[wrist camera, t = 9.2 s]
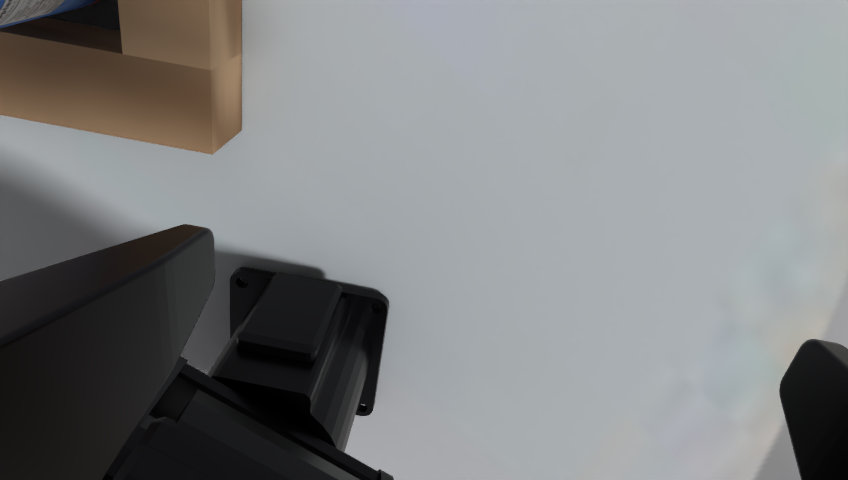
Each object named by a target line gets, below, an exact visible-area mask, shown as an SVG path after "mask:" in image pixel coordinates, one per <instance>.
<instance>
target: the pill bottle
mask: <svg viewBox="0 0 848 480" xmlns="http://www.w3.org/2000/svg"><path fill="white" fill-rule="evenodd" d="M99 1H101V0H0V28H3V27H7V26H11V25H15V24H18V23H22V22H26V21H30V20H34V19H38V18H42V17H46V16H49V15H53V14H57V13H61V12H66V11H70V10H74V9H78V8H82V7H85V6H89V5H91V4H94V3H97V2H99Z"/></svg>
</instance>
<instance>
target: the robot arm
mask: <svg viewBox="0 0 848 480" xmlns="http://www.w3.org/2000/svg"><path fill="white" fill-rule="evenodd" d="M240 278H244V279H246V280H247V282H248V283H245V282H242V280H241V279H240ZM214 281H215V253H214V237H213V233H212V231H211V230H210V229H208V228H205V227H199V226H194V225H188V224H183V225H180V226H176V227H173V228H170V229H167V230H164V231H160V232H157V233H154V234H151V235H148V236H144V237H141V238H138V239H135V240H132V241H128V242H125V243H122V244H119V245H116V246H112V247H109V248H106V249H103V250H100V251H96V252H93V253H90V254H87V255H84V256H80V257H77V258H74V259H71V260H68V261H64V262H61V263H58V264H55V265H52V266H48V267H45V268H42V269H39V270H36V271H32V272H29V273H26V274H23V275H20V276H16V277H13V278H10V279H7V280H4V281H0V480H394V479H393V476H391V475H389V474H387V473H386V472H384V471H382V470H378V471H376V470H374V469H373V468H371V467H369V466H367V465H365V464H364V463H362V462H360V461H358V460H357V459H355V458H353V457H351V456H349V455H348V454H346V453H344V451H345V448H346V445H347V441H348V438H349V434H350V431H351V427H352V424H353V421H354V417H355V415H359V416H367V415H369V414H371V413H372V411H373V408H374V404H375V397H376V390H377V384H378V377H379V371H380V364H381V357H382V351H383V344H384V337H385V331H386V324H387V317H388V311H389V301H388V299H387V297H385V296H384V295H383V294H380V293H376V292H371V291H366V290H361V289H355V288H350V287H345V286H340V285H338V284H335V283H330V282H325V281H319V280H314V279H309V278H304V277H299V276H293V275H288V274H283V273H278V274H277V273H272V272H267V271H262V270H257V269H251V268H246V267H241V268H238V269H237V270H236V271H235V272H234V273H233V275H232V276H231V278H230V337H231V339H230V340H229V342H228V343H227V345H226V346H225V348H224V350H223V351H222V353H221V354H220V356H219V357H218V359H217V361H216V362H215V364H214V365H213V367H212V368H211V370H210V372H209V373H208V375H206V374H204V373H203V372H201V371H199V370H197V369H196V368H194V367H192V366H190V365H188V364H187V361H188V360H186V359H184V358H183V357H181V356H180V355H181V352H182V350H183V348H184V346H185V344H186V342H187V340H188V338H189V336H190V334H191V332H192V330H193V328H194V326H195V324H196V322H197V320H198V317H199V315H200V313H201V311H202V309H203V307H204V305H205V303H206V301H207V299H208V297H209V295H210V293H211V291H212V288H213V285H214ZM373 303H376V304H379V305H380V306H381V308H375V307H373V306H372V305H371V304H373ZM780 399H781V403H782V407H783V411H784V415H785V419H786V422H787V426H788V430H789V434H790V438H791V442H792V446H793V450H794V454H795V458H796V462H797V466H798V469H799V473H800V476H801V480H848V349H847V348H846V347H844V346H842V345H840V344H837V343H833V342H828V341H823V340H817V339H810V340H807V341H806V342H804V343H803V344H802V345H801V347H800V348H799V350H798V352H797V354H796V355H795V357H794V359H793V361H792V362H791V364H790V366H789V368H788V369H787V371H786V373H785V375H784V376H783V378H782V380H781V384H780ZM361 404H365V405H366V406H363V405H361Z"/></svg>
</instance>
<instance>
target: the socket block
mask: <svg viewBox="0 0 848 480" xmlns="http://www.w3.org/2000/svg"><path fill="white" fill-rule="evenodd" d="M118 10H119V20H120V31H117V30H111V29H106V28H100V27H95V26H89V25H84V24H78V23H73V22H67V21H62V20H56V19H51V18H46V17H42V18H38V19H34V20H30V21H26V22H22V23H18V24H15V25H11V26H7V27H3V28H0V115H4V116H10V117H15V118H21V119H26V120H31V121H37V122H42V123H47V124H53V125H58V126H63V127H69V128H74V129H79V130H85V131H90V132H95V133H101V134H106V135H111V136H117V137H122V138H127V139H133V140H138V141H143V142H149V143H154V144H159V145H165V146H170V147H175V148H181V149H186V150H191V151H197V152H202V153H207V154H214V153H215V152H216V151H217V150H219V149H220V148H221V147H222V146H223V145H225V144H226V143H227V142H228V141H229V140H231V139H232V138H233V137H234V136H235V135H237V134H238V133H239V132H240V131H241V130H242V0H118Z"/></svg>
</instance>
